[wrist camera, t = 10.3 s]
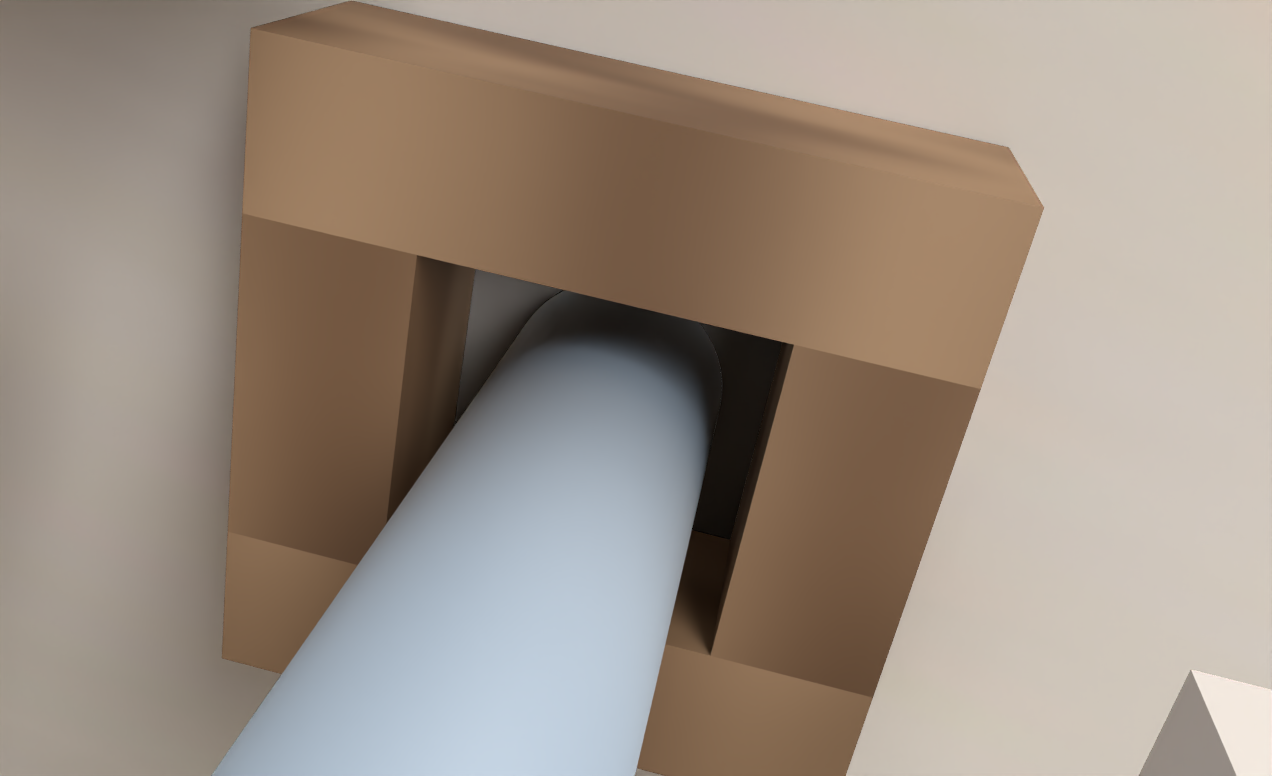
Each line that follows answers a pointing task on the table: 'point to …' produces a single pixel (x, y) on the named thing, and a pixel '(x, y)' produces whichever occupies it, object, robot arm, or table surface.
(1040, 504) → the table surface
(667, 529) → the long peg
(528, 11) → the table surface
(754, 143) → the socket block
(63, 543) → the table surface
